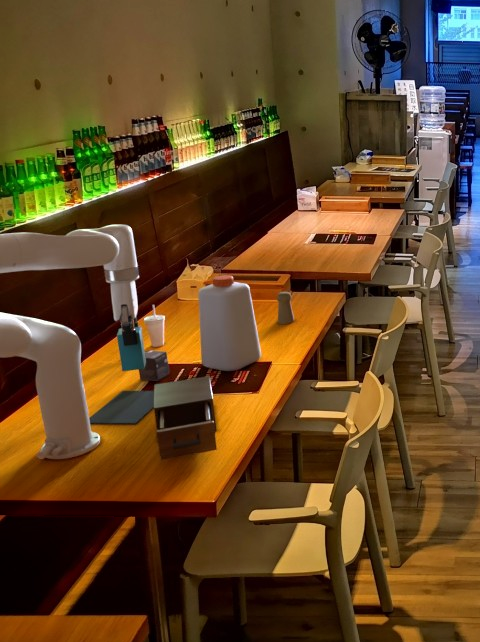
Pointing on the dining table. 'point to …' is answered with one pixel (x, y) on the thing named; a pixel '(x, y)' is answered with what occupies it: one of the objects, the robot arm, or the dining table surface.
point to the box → (155, 366)
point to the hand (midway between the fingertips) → (132, 340)
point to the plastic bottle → (227, 325)
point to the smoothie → (155, 328)
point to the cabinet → (183, 396)
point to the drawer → (185, 431)
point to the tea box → (132, 352)
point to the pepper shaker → (284, 308)
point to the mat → (125, 408)
